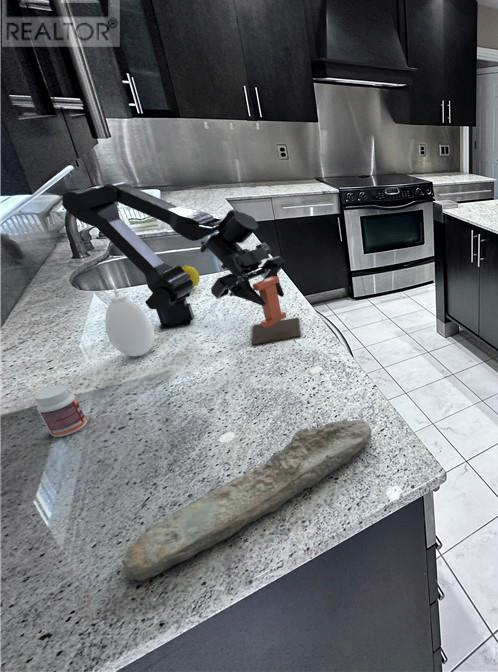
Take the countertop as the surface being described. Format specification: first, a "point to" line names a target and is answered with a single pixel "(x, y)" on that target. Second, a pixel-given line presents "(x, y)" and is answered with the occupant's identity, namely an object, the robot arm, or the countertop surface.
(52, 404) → the pill bottle
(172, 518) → the long grey stone
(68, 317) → the countertop surface
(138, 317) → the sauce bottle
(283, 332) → the dark brown square tile
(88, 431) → the countertop surface
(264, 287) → the letter I
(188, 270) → the lemon
